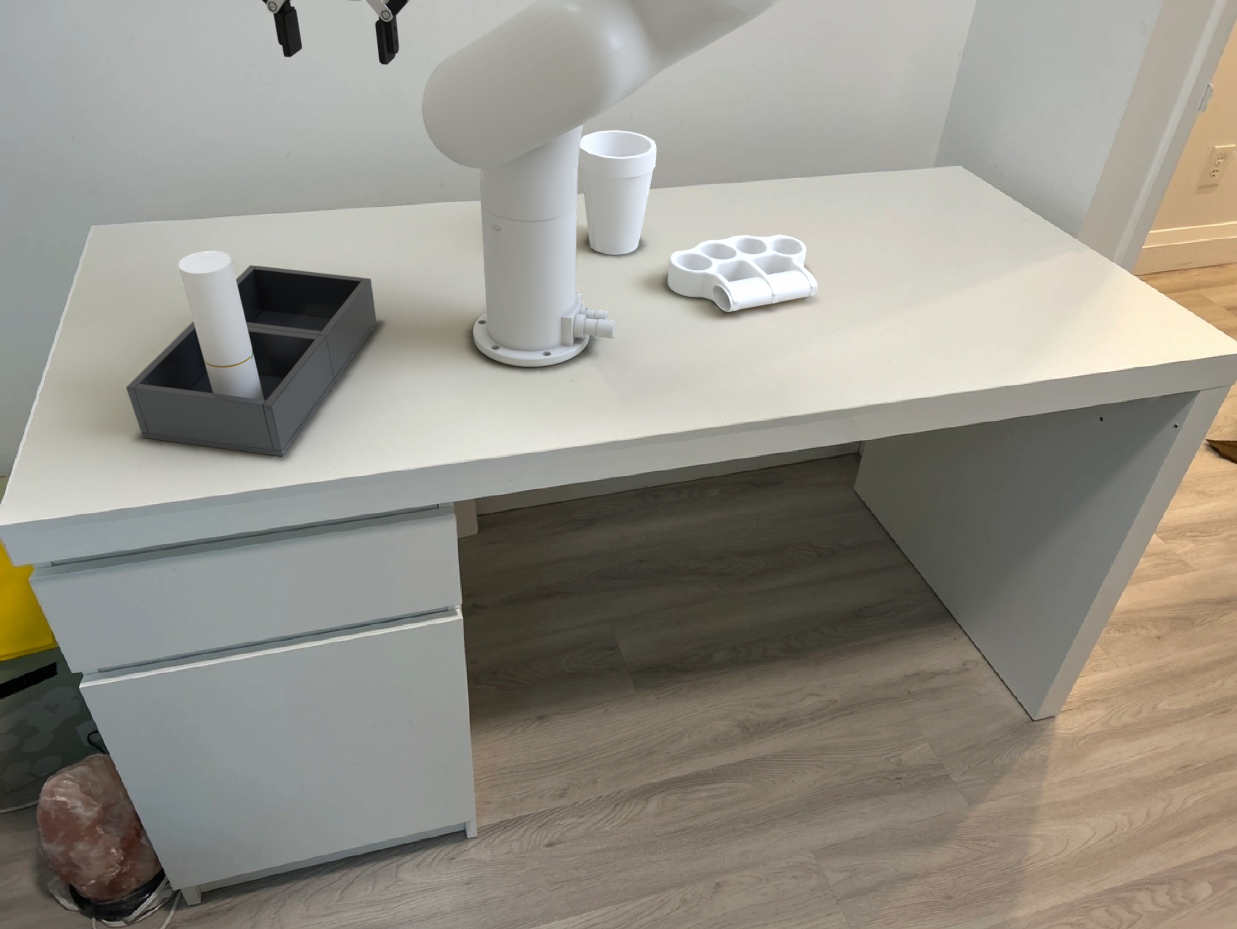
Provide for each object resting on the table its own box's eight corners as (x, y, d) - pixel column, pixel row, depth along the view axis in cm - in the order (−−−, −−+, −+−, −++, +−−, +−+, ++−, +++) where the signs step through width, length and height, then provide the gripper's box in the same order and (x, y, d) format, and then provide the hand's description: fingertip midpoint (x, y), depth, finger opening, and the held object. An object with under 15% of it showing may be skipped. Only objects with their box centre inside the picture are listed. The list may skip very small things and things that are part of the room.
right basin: (377, 324, 106) (371, 278, 102) (334, 384, 96) (326, 335, 93) (260, 310, 107) (250, 264, 104) (207, 367, 98) (194, 319, 94)
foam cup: (663, 240, 125) (670, 142, 117) (625, 267, 119) (630, 164, 111) (602, 221, 129) (605, 124, 121) (563, 246, 123) (563, 146, 114)
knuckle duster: (704, 324, 108) (649, 268, 119) (838, 298, 114) (774, 247, 125) (707, 298, 106) (651, 243, 117) (843, 273, 112) (778, 222, 123)
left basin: (334, 384, 96) (326, 335, 93) (282, 456, 87) (271, 406, 84) (207, 367, 98) (194, 319, 94) (142, 437, 88) (125, 387, 85)
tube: (250, 420, 90) (214, 276, 81) (208, 413, 91) (168, 269, 81) (272, 395, 93) (240, 254, 84) (231, 389, 94) (195, 248, 85)
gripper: (199, -147, 82) (240, 61, 93) (396, -135, 81) (415, 75, 92) (236, -157, 88) (271, 40, 99) (420, -145, 87) (435, 53, 98)
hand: (340, 56), depth 95 cm, fingers open, 9 cm apart
